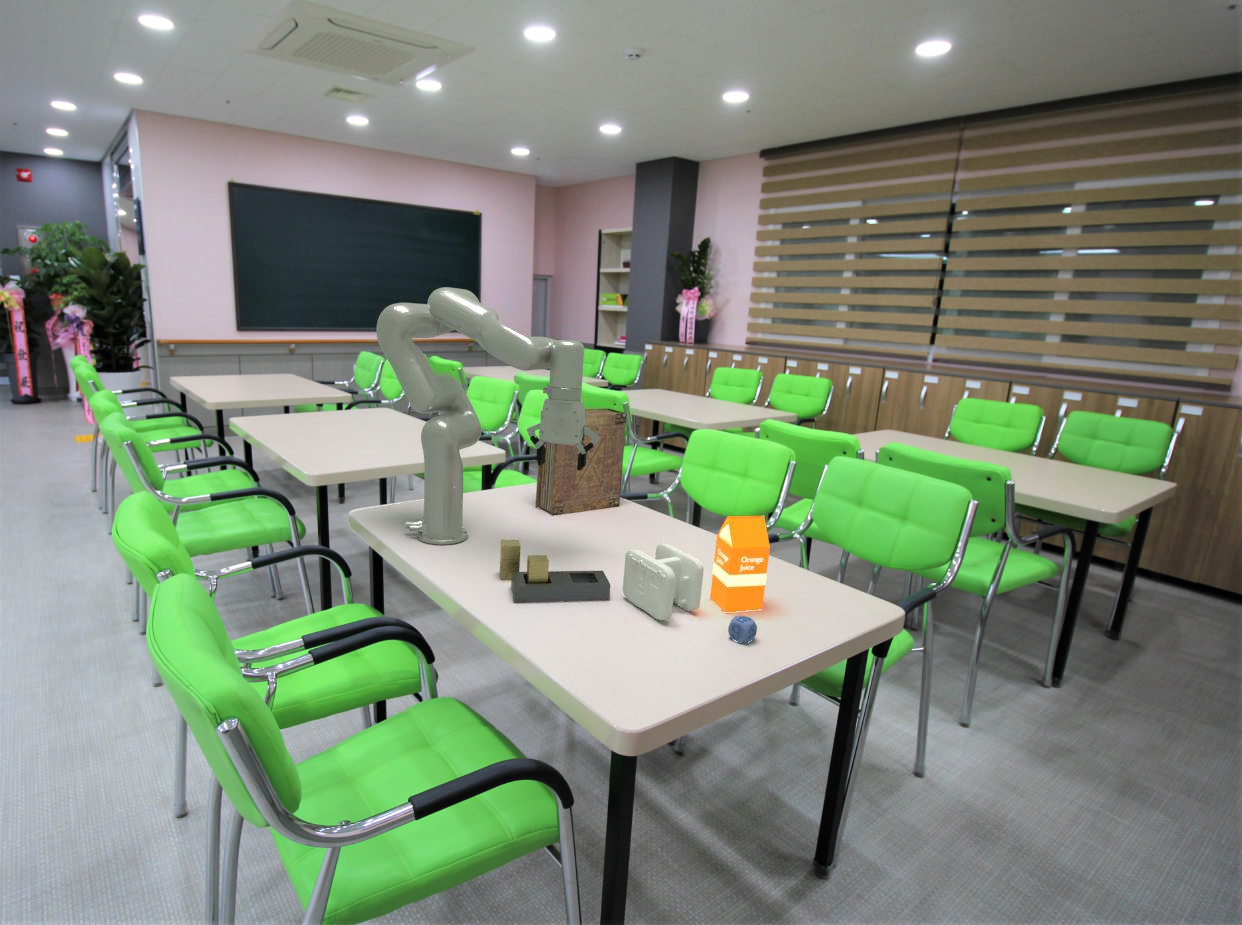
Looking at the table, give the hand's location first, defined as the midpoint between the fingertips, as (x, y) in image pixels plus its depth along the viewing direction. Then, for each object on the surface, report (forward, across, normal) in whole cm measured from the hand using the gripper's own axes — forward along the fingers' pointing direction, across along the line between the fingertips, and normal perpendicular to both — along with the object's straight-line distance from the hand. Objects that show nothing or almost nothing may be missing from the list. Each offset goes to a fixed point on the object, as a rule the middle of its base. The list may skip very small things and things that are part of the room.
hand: (560, 466), depth 159 cm
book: (+23, -7, +46) cm, 52 cm away
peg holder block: (+23, +7, -19) cm, 31 cm away
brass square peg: (+23, -6, -15) cm, 28 cm away
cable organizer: (+23, +29, -18) cm, 41 cm away
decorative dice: (+23, +46, -26) cm, 58 cm away
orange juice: (+23, +44, -10) cm, 51 cm away
